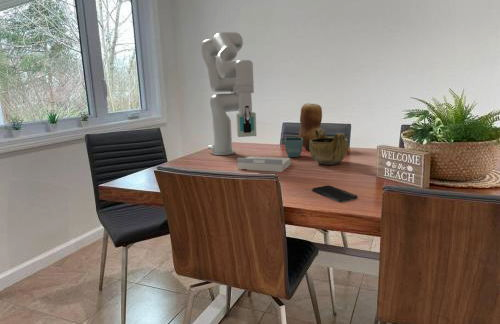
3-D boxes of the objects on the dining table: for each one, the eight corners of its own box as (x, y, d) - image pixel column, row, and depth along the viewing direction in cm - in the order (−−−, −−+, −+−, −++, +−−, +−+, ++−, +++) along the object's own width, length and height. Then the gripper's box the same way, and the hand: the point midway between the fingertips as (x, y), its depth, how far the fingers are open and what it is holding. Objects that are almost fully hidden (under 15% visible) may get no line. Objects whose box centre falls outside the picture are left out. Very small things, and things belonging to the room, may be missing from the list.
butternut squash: (327, 150, 194) (327, 103, 188) (304, 152, 191) (304, 104, 185) (315, 146, 207) (316, 102, 202) (294, 148, 204) (293, 103, 198)
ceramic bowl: (358, 167, 155) (359, 132, 152) (322, 170, 151) (322, 135, 148) (333, 157, 176) (333, 126, 173) (301, 160, 172) (301, 128, 169)
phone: (328, 185, 127) (359, 196, 114) (328, 188, 128) (358, 199, 114) (310, 188, 124) (339, 200, 111) (310, 191, 124) (339, 203, 111)
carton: (237, 135, 162) (236, 113, 160) (254, 134, 162) (254, 112, 160) (238, 137, 156) (237, 113, 154) (256, 136, 157) (255, 113, 155)
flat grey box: (237, 169, 158) (237, 158, 157) (249, 162, 171) (249, 152, 170) (281, 172, 151) (281, 160, 150) (290, 164, 164) (290, 153, 163)
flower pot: (302, 154, 185) (302, 137, 183) (303, 158, 176) (303, 140, 174) (285, 154, 186) (284, 137, 184) (285, 158, 177) (284, 140, 175)
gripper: (234, 90, 163) (236, 130, 167) (238, 90, 147) (240, 134, 150) (251, 89, 164) (252, 129, 168) (256, 89, 148) (257, 133, 151)
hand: (246, 131), depth 159 cm, fingers closed on carton, 5 cm apart
